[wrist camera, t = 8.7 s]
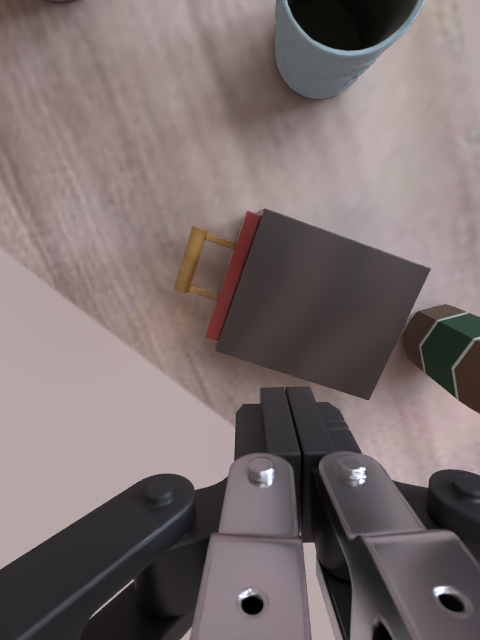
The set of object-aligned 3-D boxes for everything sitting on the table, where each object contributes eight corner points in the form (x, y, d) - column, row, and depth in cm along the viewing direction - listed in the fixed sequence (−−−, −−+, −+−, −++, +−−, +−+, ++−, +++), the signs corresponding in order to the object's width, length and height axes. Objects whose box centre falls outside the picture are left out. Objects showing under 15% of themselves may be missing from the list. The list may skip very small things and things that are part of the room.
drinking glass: (319, 130, 38) (355, 90, 26) (242, 54, 36) (243, -26, 24) (395, 40, 36) (470, -46, 24) (316, -45, 34) (356, -182, 22)
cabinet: (220, 322, 43) (215, 350, 33) (258, 211, 40) (264, 208, 30) (341, 362, 44) (369, 400, 35) (387, 257, 41) (431, 268, 32)
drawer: (174, 303, 41) (159, 322, 34) (206, 198, 38) (198, 193, 31) (326, 354, 43) (345, 383, 35) (368, 256, 40) (398, 264, 32)
